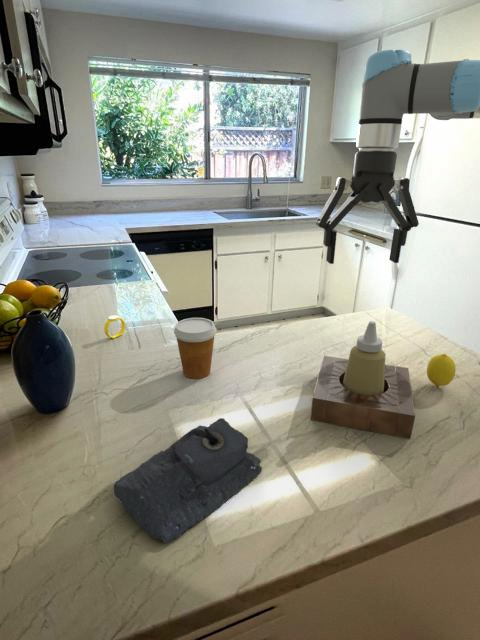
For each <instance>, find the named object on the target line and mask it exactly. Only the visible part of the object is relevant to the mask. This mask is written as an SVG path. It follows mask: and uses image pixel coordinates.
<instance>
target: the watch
mask: <svg viewBox="0 0 480 640" xmlns="http://www.w3.org/2000/svg"><path fill="white" fill-rule="evenodd" d="M118 320H119V321H120V324H121V325H120V330H119V332H117V333H115V334H114V335H111V334H110V333H109V328H110V325H111V323H112V322H116V321H118ZM103 330H104V334H105V335H106V337H108V338H110V339H114V340H115V339H116V338H118V337H120V336H123V334H124V333H125V331H126V321H125V320H124V319H123V318H122V317H120V316H119V315H117V314H112V315H109V316H108V317H107V320H106V322H105V324H104V327H103Z"/></svg>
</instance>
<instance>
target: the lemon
mask: <svg viewBox="0 0 480 640" xmlns="http://www.w3.org/2000/svg"><path fill="white" fill-rule="evenodd" d="M456 372H457V371H456V363H455V361H454V359H453V358H452V357H451V356H449V355H448V354H447V353H439V354H435V355H434V356H433V357H431V358H430V360H429V361H428V364H427V367H426V377H427V378H428V380H429V381H430V382H431V383H432V384H434V385H435V386H436V387H442V386H447V385H449V384H450V383H451V382H452V381H453V380H454V378H455V375H456Z"/></svg>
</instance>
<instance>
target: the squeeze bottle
mask: <svg viewBox="0 0 480 640" xmlns="http://www.w3.org/2000/svg"><path fill="white" fill-rule="evenodd" d="M377 334H378V333H377V323H376V321H373V320H371V321H368V323H367V326H366V329H365V332H364V334H363V335H359V336H358V337H357V338H356V345H354V346H352V347H351V349H350V353H349V355H348V359H349V360H348V364H347V368H346V372H345V376H344V380H343V387H345V388H346V389H348V390H350V391H352V392H354V393H358V394H362V395H380V394H382V393H383V392H384V376H385V365H386V352H385V351H384V350H383V349H382V348H383V340H382V339H381V338H380V337H378V336H377Z"/></svg>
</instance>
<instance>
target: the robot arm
mask: <svg viewBox="0 0 480 640" xmlns="http://www.w3.org/2000/svg"><path fill="white" fill-rule="evenodd" d="M362 80H363V81H362V84H361V98H360V107H359V108H360V109H359V119H358V126H357V136H356V144H355V147H356V148H357V149H358V151H356V153H354V162H353V171H352V177H351V179H350V178H345V177H340V176H338V177H336V179H335V182H334V186H333V187H334V188H333V190H332V192H331V194H330V195H329V198H328V199H327V201H326V202H325V204H324V206H323V208H322V210H321V212H320V213H319V215H318V217H317V219H316V221H315V225H316V226H317V227H319V228H321V229H323V242H322V243H323V246H324V247H326V249H327V250H326V259H325V261H326V262H327V263H328V264H329V265H334V264H335V255H336V244H337V234H338V232H337V230H335V229H336V227H337V226H338V225H339V224H340V222H342V221H343V219H344V218H345V217H346V216H347V215H348V214H349V213H350V212H351V211H352V209H353V208H354V207H356V205H358V204H359V203H360V202H361V203H366V204H367V203H380V202H381V203H382V204H383V206H384V207H385V208H386V210H387V212H388V213H389V215H390V217H391V218H392V219H393V221H394V222H395V224H396V226H397V227H398V228H393V232H392V238H391V239H392V240H391V245H390V246H391V247H390V252H389V259H388V260H389V261H390V262H393V263H395V264H399V262H400V256H401V250H402V247H405V246H406V243H407V237H408V232H409V231H412V229H413V228H417V227H418V226H419V224H420V223H419V219H418V216H417V213H416V209H415V206H414V202H413V199H412V195H411V192H410V184H411V183H410V179H409V178H408V177H399V178H394V177H395V176H394V175H395V172H396V166H397V158H398V153H397V152H396V151H395V150H396V149H398V148H399V144H400V139H401V138H400V137H401V131H402V123H403V118H404V115H413V114H417V115H418V114H421V115H422V114H429V115H430V117H432V118H433V119H435V120H438V121H449V120H453V119H454V120H460V119H461V120H466V119H467V120H468V119H480V59H469V58H464V59H463V60H452V61H451V60H449V61H440V62H431V63H430V62H428V63H413V60H412V53H411V52H410V51H408V50H406V49H384V50H379V51H376V52H373V53H372V54H370V55H369V56H368V58H367V59H366V63H365V70H364V75H363V79H362ZM349 187H350V188H351V190H352V192H351V193H350V194H349V195H348V196H347V198H346V200H345V201H344V202H343V203H342V204H341V205H340V206H339V207H338V208H337V210H336V211H335V212H334V210H335V209H336V207H337V204H338V203H339V201H340V200H341V198H342V196H343V194H344V192H345V191H346V190H347V189H348V188H349ZM393 188H395V190H396V191H397V195H398V198H399V201H400V204H401V209H402V211H403V214H404V215H403V214H402V212H401V210H400V208H399V207H398V206H397V205H396V202H395V201H394V198H393V196H392V195H391V193H390V192H391V191H392V190H393ZM333 212H334V213H333ZM330 216H331V217H330Z"/></svg>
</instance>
